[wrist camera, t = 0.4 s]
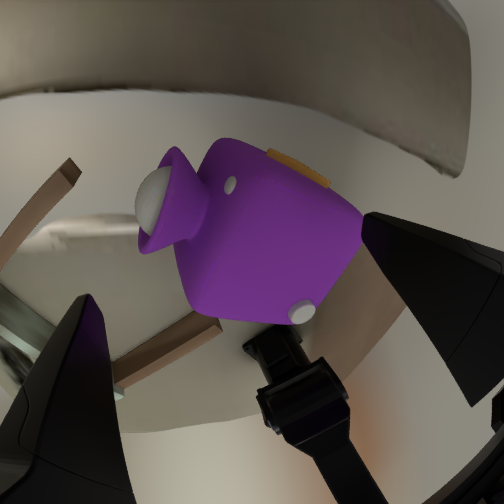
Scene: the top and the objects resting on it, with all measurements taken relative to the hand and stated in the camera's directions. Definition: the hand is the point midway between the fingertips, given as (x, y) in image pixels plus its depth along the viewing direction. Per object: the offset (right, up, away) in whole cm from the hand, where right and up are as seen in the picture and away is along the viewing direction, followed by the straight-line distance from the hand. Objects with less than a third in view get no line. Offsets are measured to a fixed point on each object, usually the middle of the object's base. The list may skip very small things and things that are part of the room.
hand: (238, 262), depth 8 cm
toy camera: (-2, +5, +14) cm, 15 cm away
